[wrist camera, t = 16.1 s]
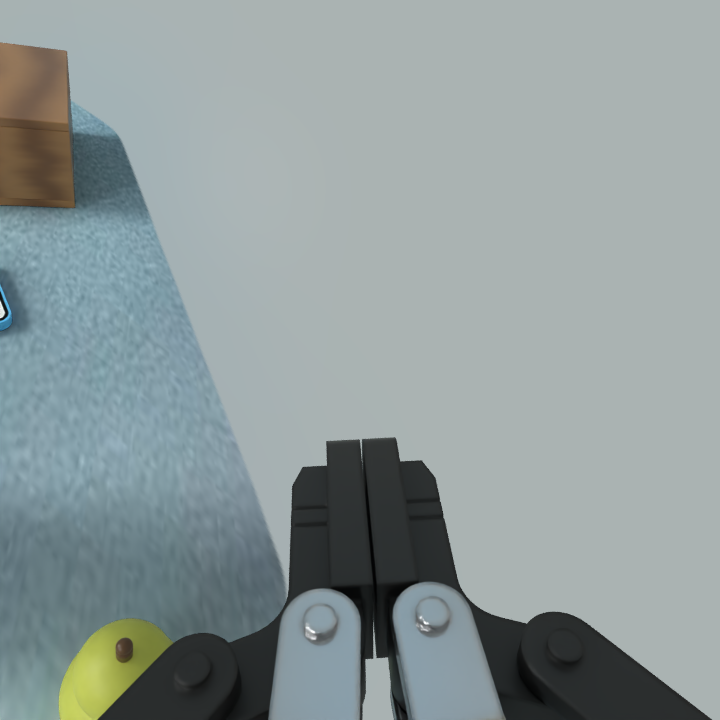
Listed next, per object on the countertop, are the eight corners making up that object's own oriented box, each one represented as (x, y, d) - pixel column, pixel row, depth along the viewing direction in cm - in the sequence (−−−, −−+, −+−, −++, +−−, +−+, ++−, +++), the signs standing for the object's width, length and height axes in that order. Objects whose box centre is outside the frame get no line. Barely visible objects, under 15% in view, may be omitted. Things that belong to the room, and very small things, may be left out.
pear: (64, 789, 31) (43, 744, 23) (63, 662, 34) (44, 588, 27) (190, 754, 33) (207, 702, 26) (177, 637, 36) (188, 563, 29)
